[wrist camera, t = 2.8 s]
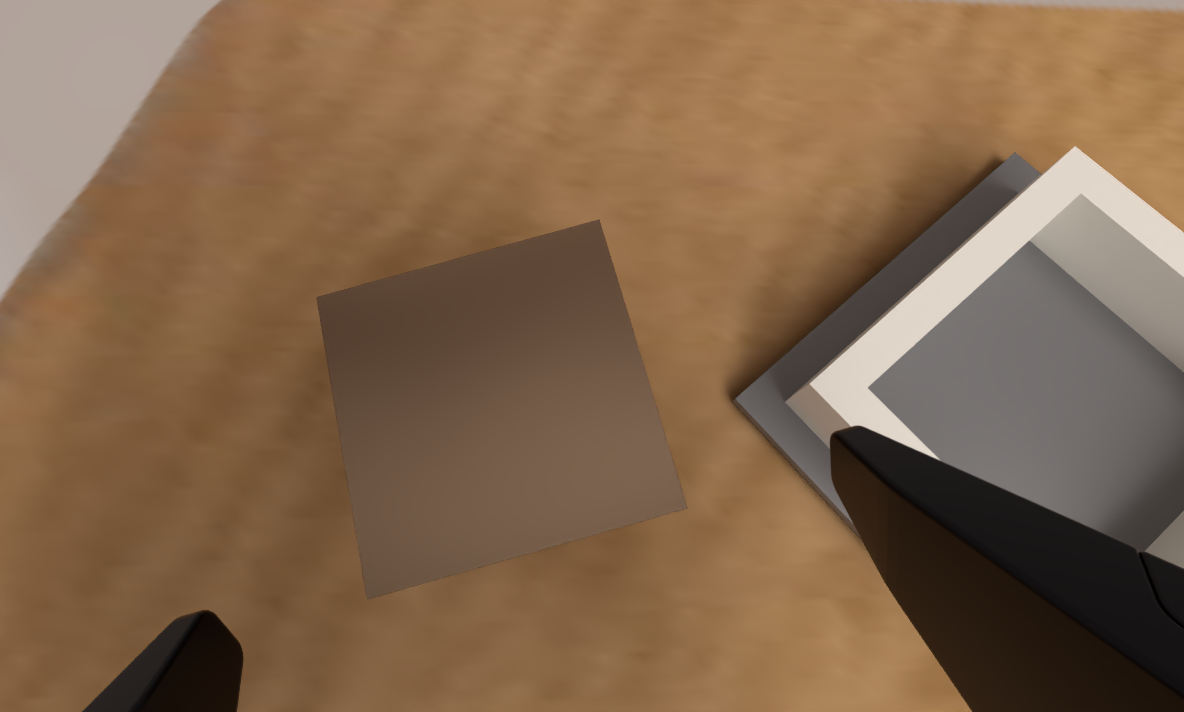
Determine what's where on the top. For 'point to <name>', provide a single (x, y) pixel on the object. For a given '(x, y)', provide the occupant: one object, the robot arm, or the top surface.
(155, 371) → the top surface
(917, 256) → the socket collar
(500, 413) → the walnut post
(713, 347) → the top surface
